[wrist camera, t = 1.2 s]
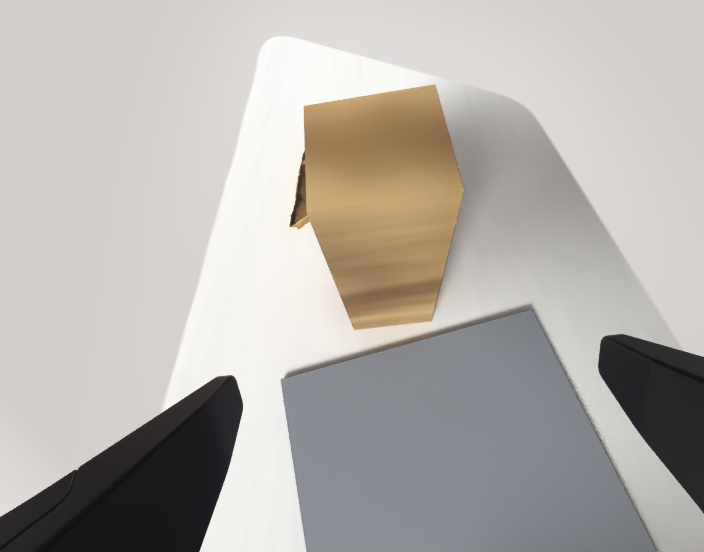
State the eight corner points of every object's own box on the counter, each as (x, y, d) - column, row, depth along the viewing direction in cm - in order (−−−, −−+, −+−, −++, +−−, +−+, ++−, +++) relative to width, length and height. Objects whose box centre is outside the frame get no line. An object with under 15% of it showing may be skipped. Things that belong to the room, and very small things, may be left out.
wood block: (431, 321, 23) (464, 190, 11) (354, 329, 23) (306, 212, 11) (418, 253, 25) (435, 84, 13) (348, 262, 25) (303, 106, 13)
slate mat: (704, 655, 15) (714, 662, 14) (340, 755, 15) (338, 765, 14) (529, 312, 22) (531, 309, 22) (283, 380, 22) (280, 379, 22)
